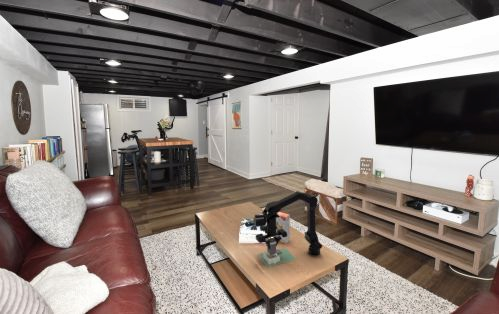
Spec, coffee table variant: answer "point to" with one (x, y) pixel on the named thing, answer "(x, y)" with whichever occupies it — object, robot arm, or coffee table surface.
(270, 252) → the black plug
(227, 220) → the coffee table surface
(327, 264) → the coffee table surface
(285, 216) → the cracker box
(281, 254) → the circuit board
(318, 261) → the coffee table surface
